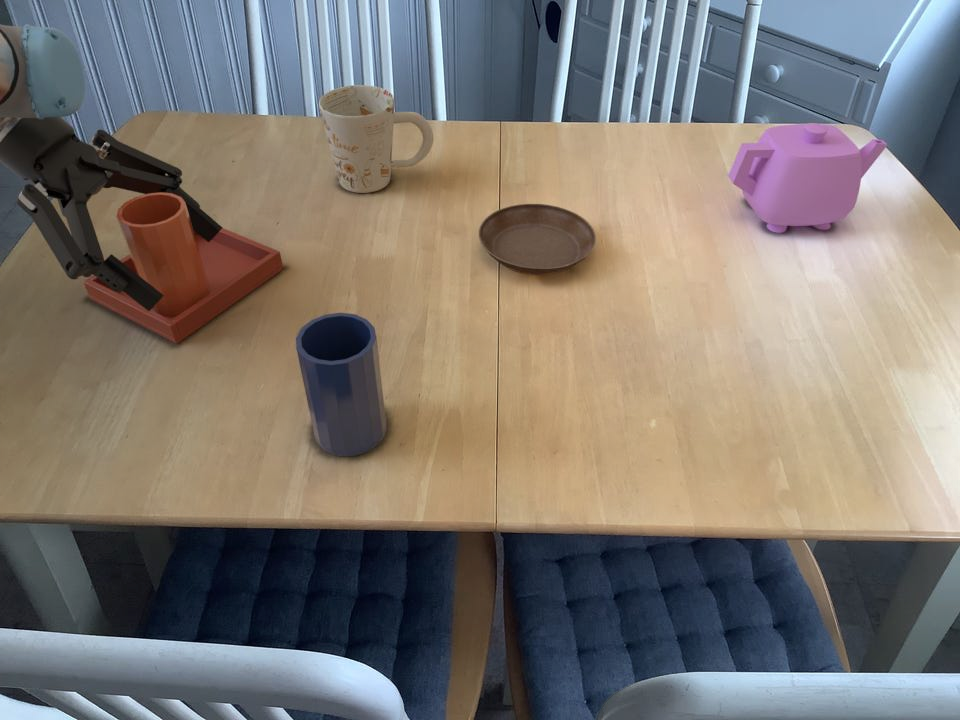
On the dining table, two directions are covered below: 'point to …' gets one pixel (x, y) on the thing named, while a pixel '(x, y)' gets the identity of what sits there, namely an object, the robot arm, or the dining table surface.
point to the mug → (366, 135)
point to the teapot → (802, 174)
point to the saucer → (537, 238)
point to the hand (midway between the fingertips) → (188, 267)
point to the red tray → (229, 274)
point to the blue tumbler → (342, 383)
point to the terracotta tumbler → (164, 250)
